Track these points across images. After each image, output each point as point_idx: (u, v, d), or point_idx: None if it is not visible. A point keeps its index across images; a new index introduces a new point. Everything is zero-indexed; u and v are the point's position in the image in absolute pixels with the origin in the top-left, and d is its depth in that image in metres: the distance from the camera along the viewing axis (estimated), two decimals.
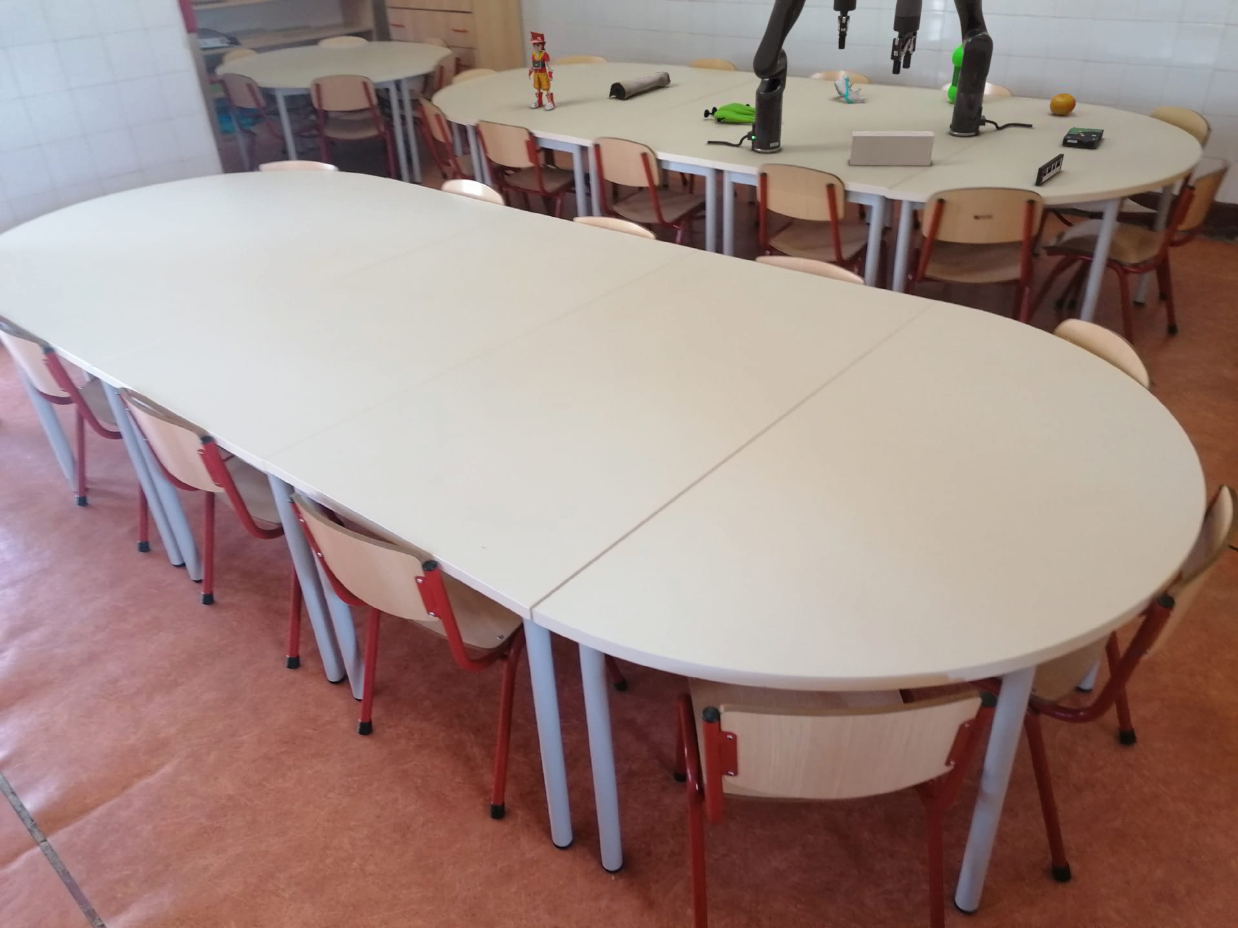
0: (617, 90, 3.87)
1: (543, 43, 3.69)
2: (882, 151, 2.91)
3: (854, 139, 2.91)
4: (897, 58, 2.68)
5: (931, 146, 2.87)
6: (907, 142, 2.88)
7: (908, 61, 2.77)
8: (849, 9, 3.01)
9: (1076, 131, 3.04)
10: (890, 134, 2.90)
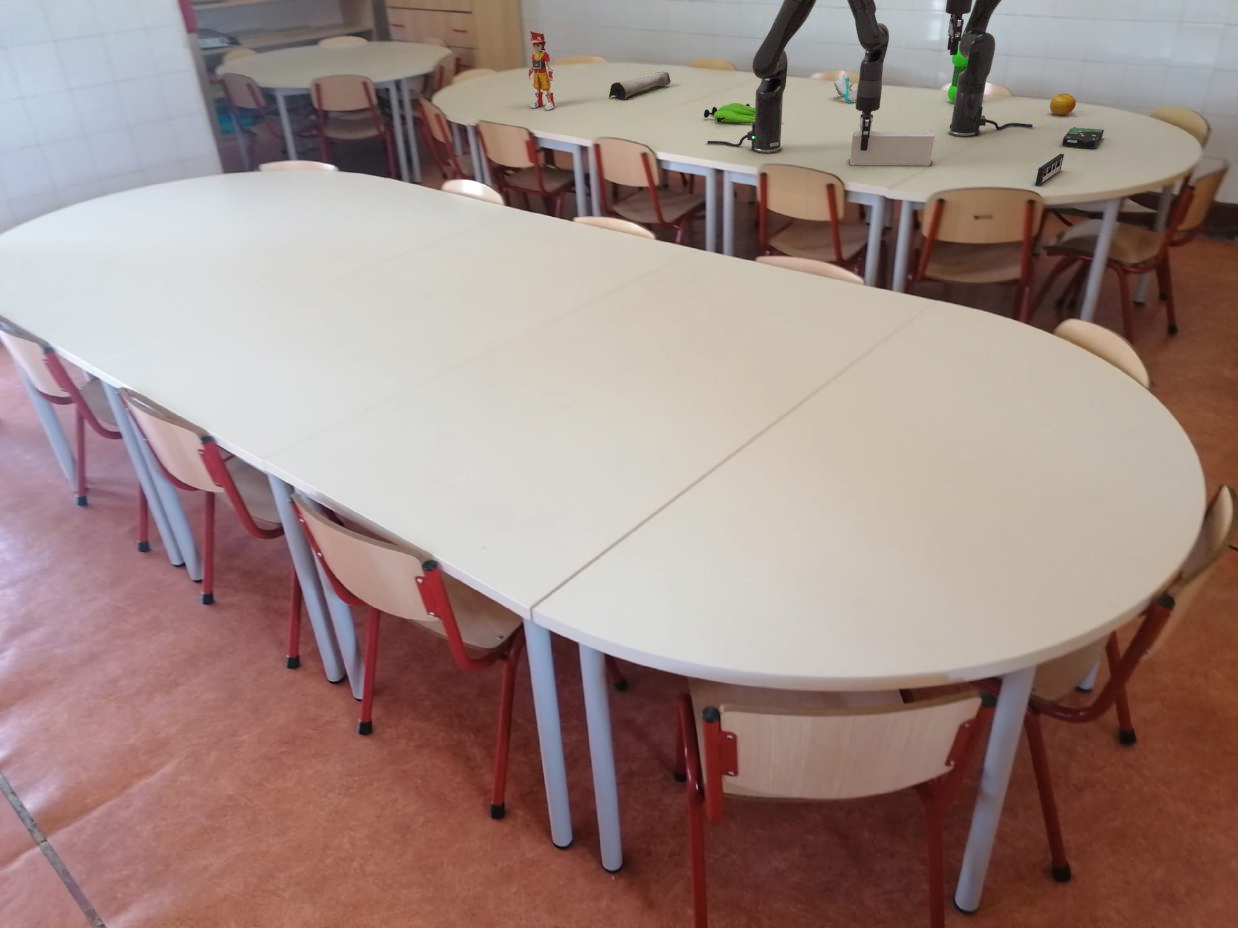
0: (617, 90, 3.87)
1: (543, 43, 3.69)
2: (882, 151, 2.91)
3: (854, 139, 2.91)
4: (868, 136, 2.87)
5: (931, 146, 2.87)
6: (907, 142, 2.88)
7: None
8: (964, 12, 2.77)
9: (1076, 131, 3.04)
10: (890, 134, 2.90)
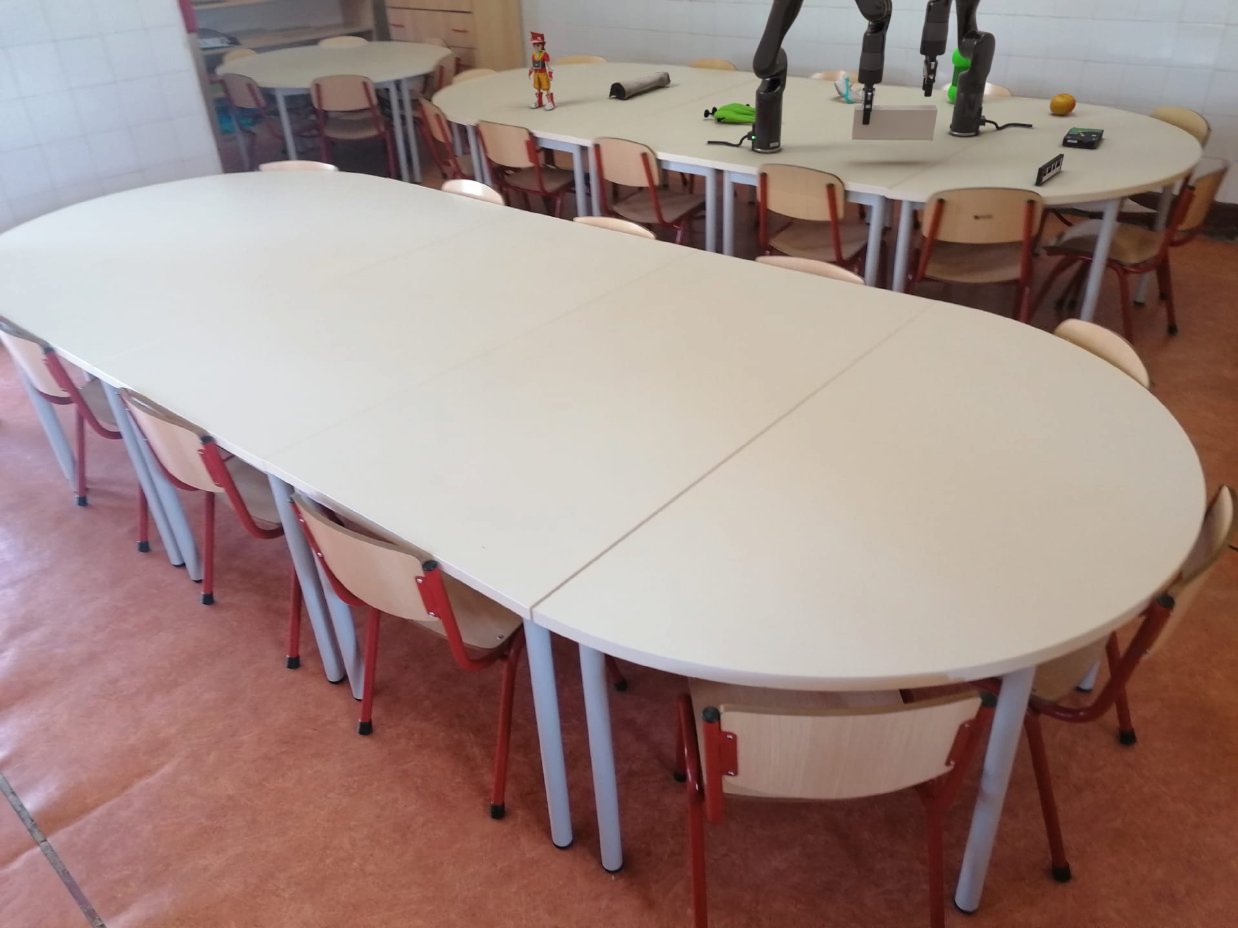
0: (617, 90, 3.87)
1: (543, 43, 3.69)
2: (885, 125, 2.87)
3: (856, 113, 2.86)
4: (870, 110, 2.82)
5: (934, 120, 2.83)
6: (910, 116, 2.84)
7: None
8: (938, 53, 2.72)
9: (1076, 131, 3.04)
10: (892, 108, 2.85)
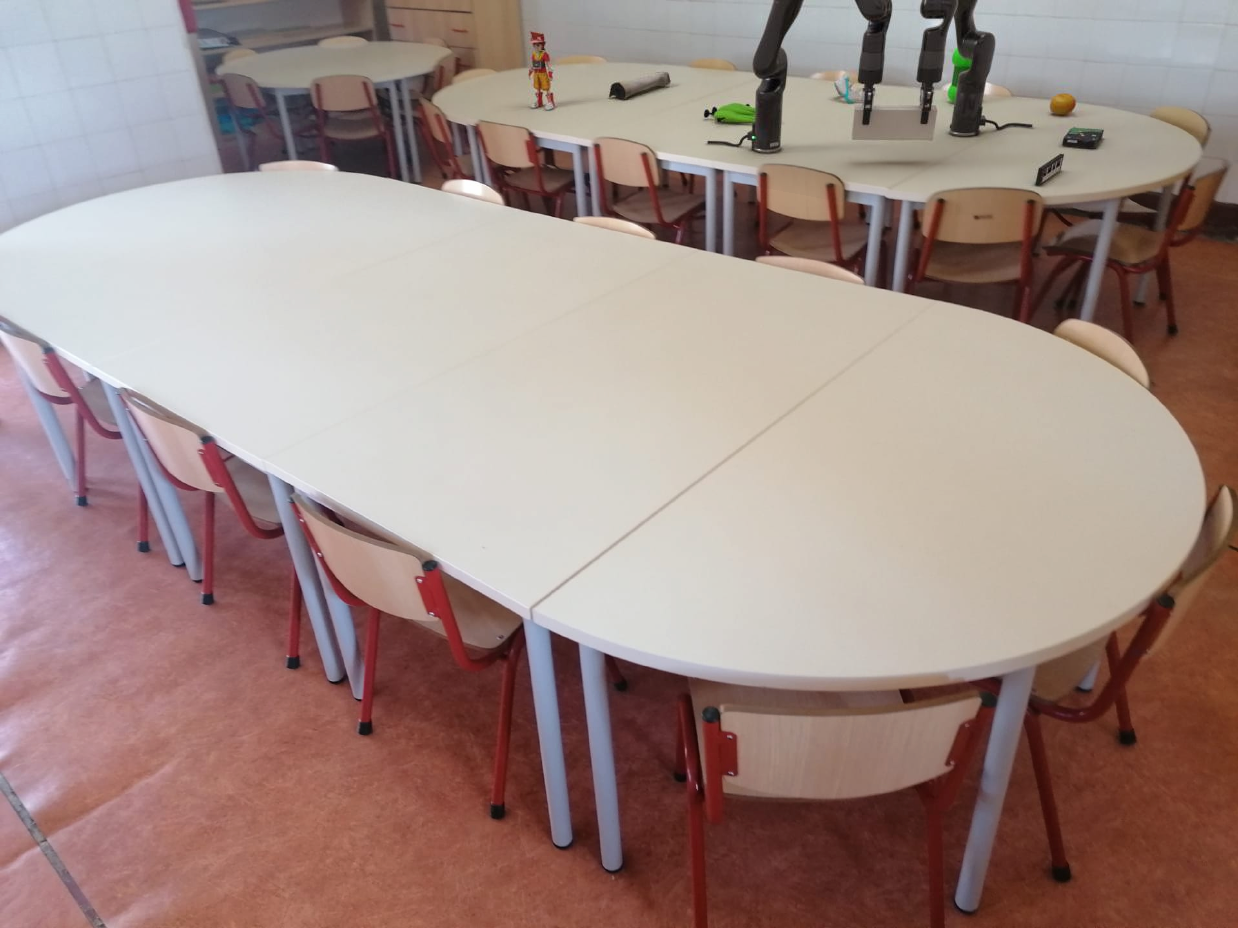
0: (617, 90, 3.87)
1: (543, 43, 3.69)
2: (884, 125, 2.87)
3: (856, 113, 2.86)
4: (870, 110, 2.82)
5: (934, 120, 2.83)
6: (910, 116, 2.84)
7: None
8: (935, 81, 2.76)
9: (1076, 131, 3.04)
10: (892, 108, 2.85)
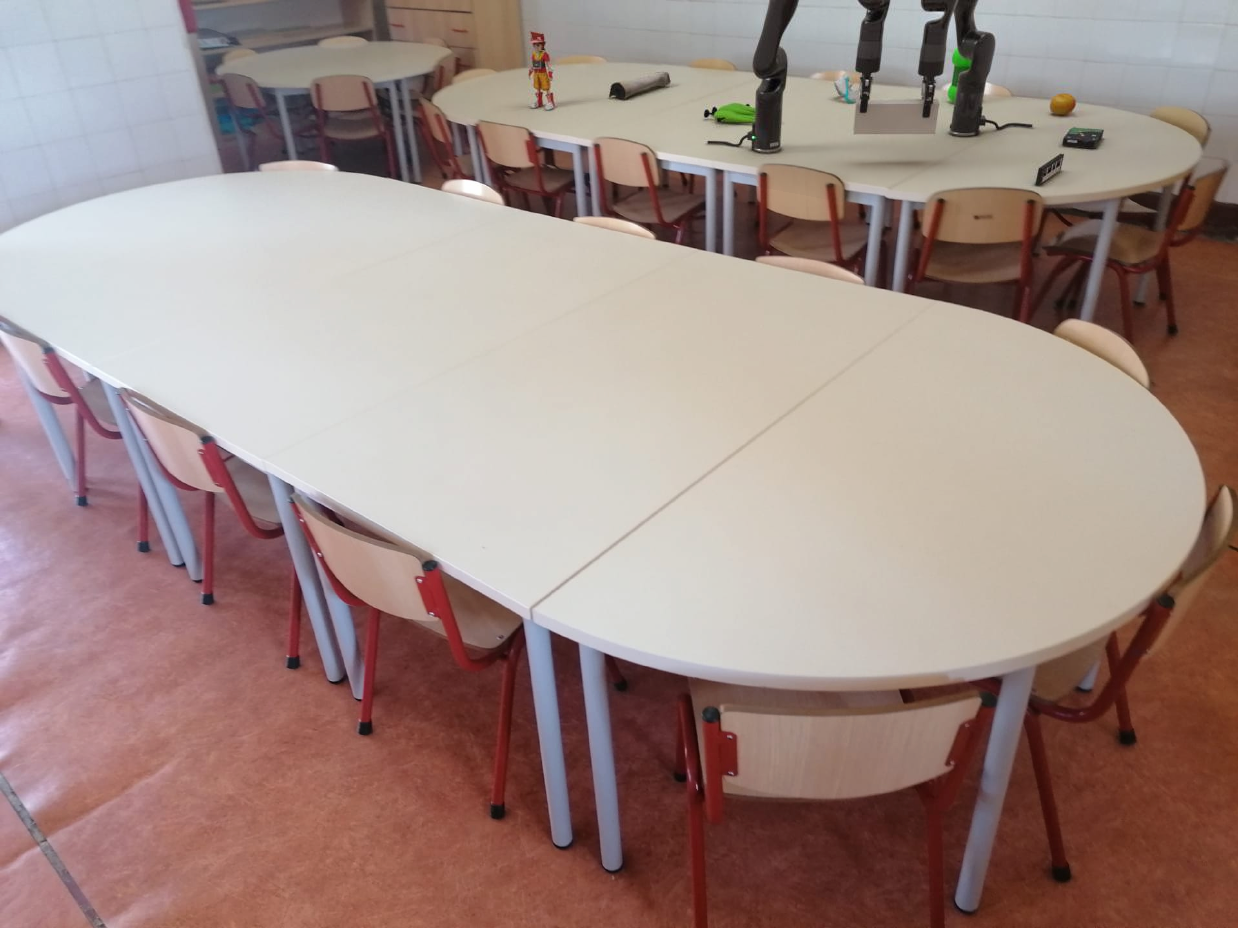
0: (617, 90, 3.87)
1: (543, 43, 3.69)
2: (886, 119, 2.85)
3: (857, 107, 2.85)
4: (868, 98, 2.79)
5: (936, 114, 2.82)
6: (912, 110, 2.82)
7: None
8: (936, 74, 2.75)
9: (1076, 131, 3.04)
10: (894, 102, 2.84)
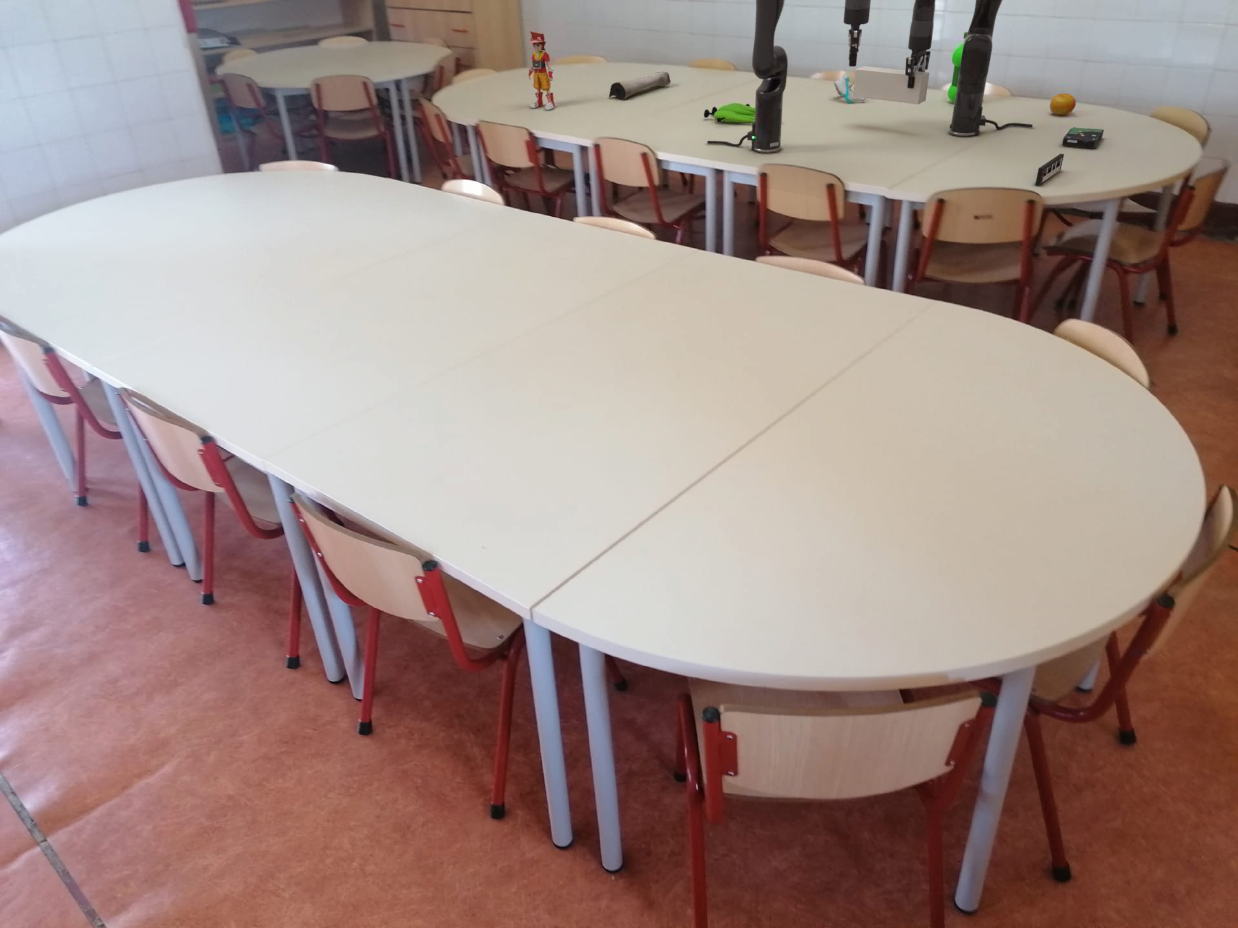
0: (617, 90, 3.87)
1: (543, 43, 3.69)
2: (879, 86, 3.19)
3: (856, 72, 3.22)
4: (857, 50, 2.72)
5: (919, 85, 3.10)
6: (899, 80, 3.13)
7: None
8: (919, 48, 3.04)
9: (1076, 131, 3.04)
10: (888, 71, 3.16)
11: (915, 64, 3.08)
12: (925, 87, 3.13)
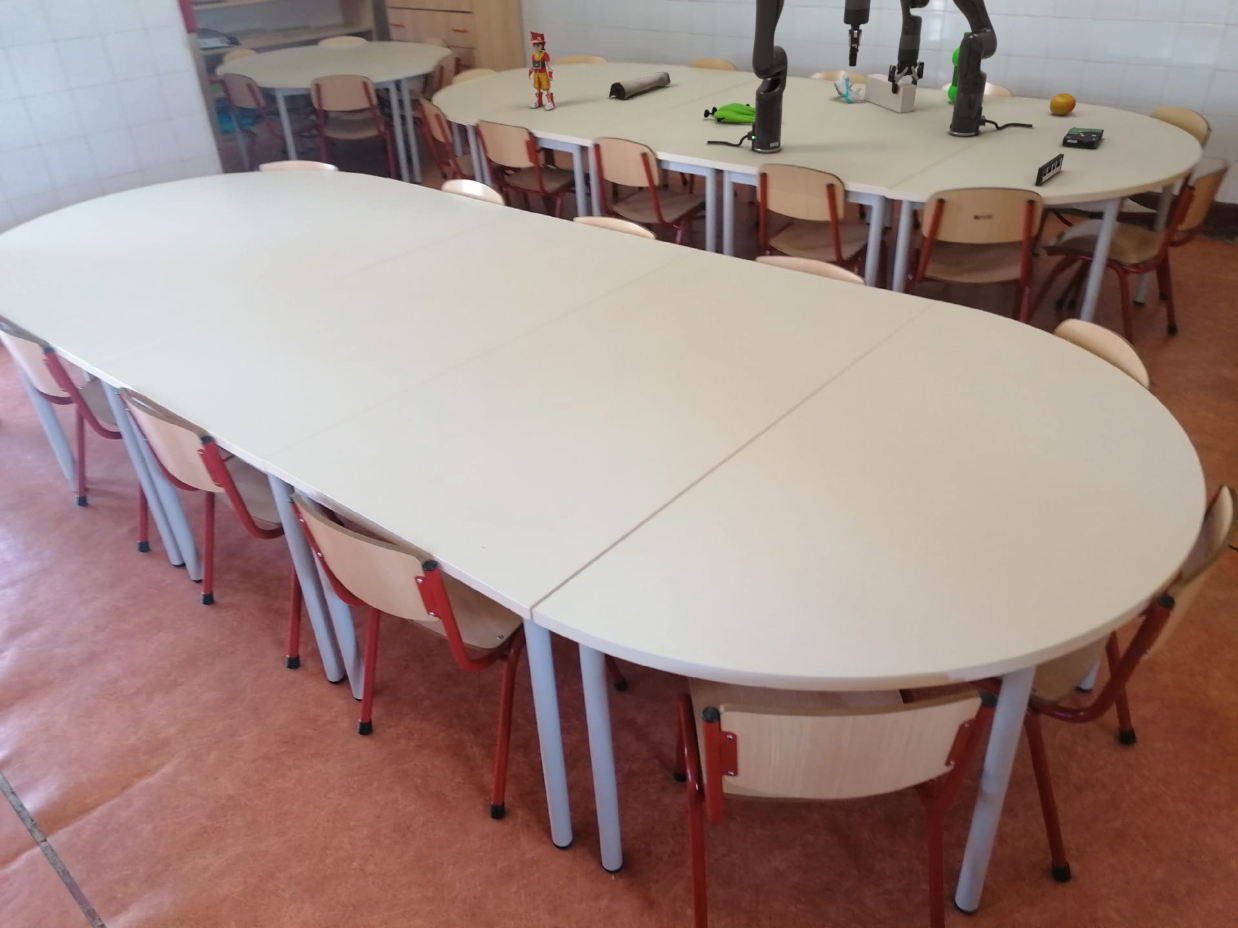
0: (617, 90, 3.87)
1: (543, 43, 3.69)
2: (879, 92, 3.55)
3: (867, 78, 3.60)
4: (857, 50, 2.72)
5: (901, 96, 3.43)
6: (890, 88, 3.48)
7: None
8: (902, 60, 3.37)
9: (1076, 131, 3.04)
10: (887, 80, 3.52)
11: None
12: (911, 98, 3.44)
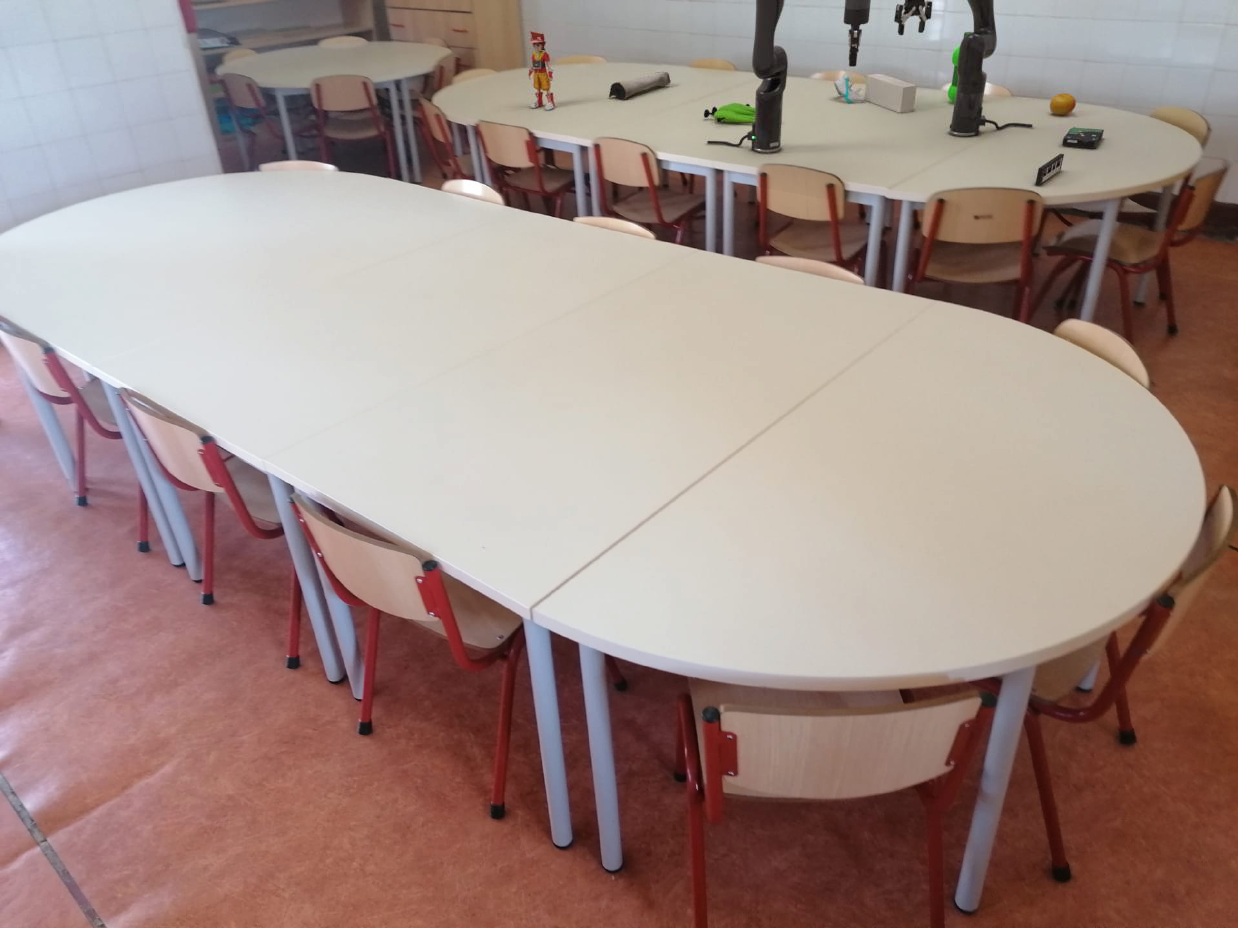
0: (617, 90, 3.87)
1: (543, 43, 3.69)
2: (879, 92, 3.55)
3: (867, 78, 3.60)
4: (857, 50, 2.72)
5: (901, 96, 3.43)
6: (890, 88, 3.48)
7: None
8: None
9: (1076, 131, 3.04)
10: (887, 80, 3.52)
11: None
12: (911, 98, 3.44)
